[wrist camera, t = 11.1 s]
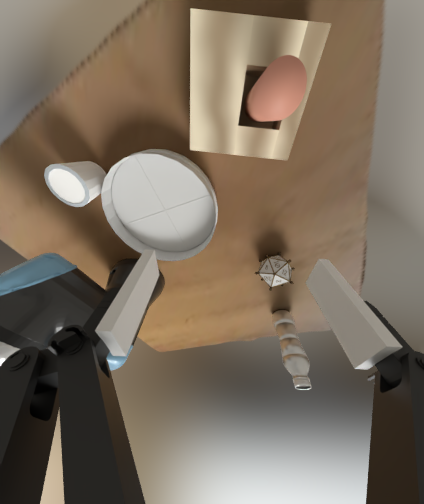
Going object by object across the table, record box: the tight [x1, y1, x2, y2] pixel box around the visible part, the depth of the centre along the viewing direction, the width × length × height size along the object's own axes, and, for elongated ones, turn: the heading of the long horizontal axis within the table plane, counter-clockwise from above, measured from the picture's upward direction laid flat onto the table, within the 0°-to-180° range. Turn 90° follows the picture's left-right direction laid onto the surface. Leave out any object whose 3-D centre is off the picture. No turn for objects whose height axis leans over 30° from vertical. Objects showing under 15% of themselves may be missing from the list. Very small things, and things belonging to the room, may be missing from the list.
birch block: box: [190, 8, 331, 160], centre depth 22 cm, size 14×12×6 cm
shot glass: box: [44, 161, 106, 207], centre depth 30 cm, size 7×7×7 cm
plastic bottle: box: [272, 310, 311, 390], centre depth 48 cm, size 6×7×20 cm
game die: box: [255, 252, 295, 291], centre depth 39 cm, size 9×8×10 cm
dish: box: [101, 149, 218, 261], centre depth 34 cm, size 22×22×5 cm
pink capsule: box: [245, 55, 307, 122], centre depth 19 cm, size 4×4×12 cm
